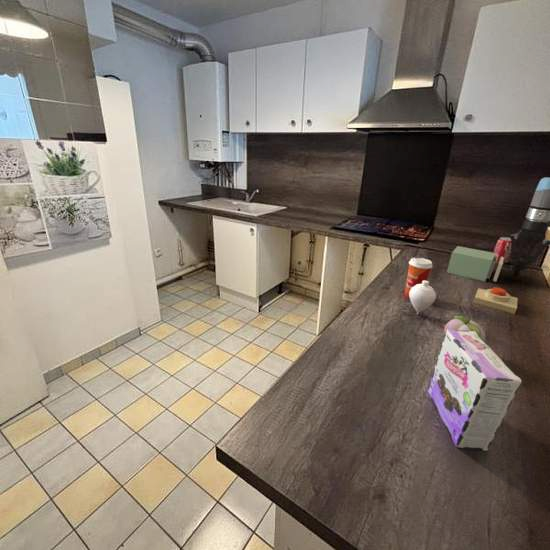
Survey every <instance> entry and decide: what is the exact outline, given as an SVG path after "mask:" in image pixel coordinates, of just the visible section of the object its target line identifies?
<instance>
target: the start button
mask: <svg viewBox="0 0 550 550" xmlns="http://www.w3.org/2000/svg"><path fill="white" fill-rule="evenodd" d="M491 289H492V291H491V293H493V294H495V295H498V296H505V294H506V293H507V290H505V289H504V288H501V287H497V286H496V287H495V286H494V287H492V288H491Z"/></svg>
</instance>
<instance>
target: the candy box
mask: <svg viewBox="0 0 550 550" xmlns="http://www.w3.org/2000/svg"><path fill="white" fill-rule="evenodd" d="M521 384H522V379H521V378H520V377H519V376H517V375H516V374H515V373H514V371H512V370H511V369H510V367H508V365H507V364H506V363H505V362H504V361H503V360H502V359H501V358H500V357H499V356H498V355H497V354H496V352H494V350H493V349H492V348H491V347H490V346H489V345H488V344H487V343H486V342H485V341H483V340H482V339H481V338H480V337H479V336H478V334H477V333H476V332H475V331H462V330H446V333H445V332H444V337H443V340H442V344H441V347H440V349H439V353H438V357H437V359H436V363H435V366H434V368H433V371H432V375H431V378H430V382H429V384H428V388H427V393H428V395H429V397H430V399H431V401H432V403H433V406H434V407H435V409H436V410H437V413H438V415H439V416H440V418H441V420H442V422H443V424H444V426H445V428H446V430H447V432H448V434H449V436H450V437H451V440H452V442H453V443H454V445H455V448H461V449H466V450H467V449H468V450H475V451H481V452H482V451H483V452H488V451H489V448H490V446H491V444H492V442H493V441H494V438H495V435H496V434H497V432H498V430H499V428H500V426H501V424H502V422H503V420H504V418H505V416H506V414H507V412H508V410H509V408H510V406H511V404H512V402H513V400H514V398H515V396H516V394H517V392H518V390H519V388H520V386H521Z"/></svg>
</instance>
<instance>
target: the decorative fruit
mask: <svg viewBox="0 0 550 550" xmlns="http://www.w3.org/2000/svg"><path fill="white" fill-rule="evenodd" d="M446 330H462V331H475V332H476V333H477V334H478V336H479V337H480V338H481V339H482V340H483V341H484V342H485V341H486V333H485V330H484V329H483V328H482V326H481V325H480V324H478V323H477V322H475V321H474V320H471V318H470V317H469V318H467V317H464V316H463V315H462V316H461V315H455V316H453V319H451V320H449V321H448V322H447V323H446V324H445V325H444V329H443V331H444V334H445V333H446Z"/></svg>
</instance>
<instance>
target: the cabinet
mask: <svg viewBox="0 0 550 550" xmlns="http://www.w3.org/2000/svg"><path fill="white" fill-rule="evenodd" d="M494 255H495V253H493V252H492V251H486V250H480V249H475V248H470V247H464V246H459V245H458V246H456V247H455V248H454V250H453V251H452V252H451V256H450V259H449V263H448V266H447V270H446V273H447V274H451V275H455V276H459V277H464V278H468V279H472V280H476V281H481V282H484V283H485V282H486V281H487V279H488V278H487V275H488V272H489V269H490V267H491V264H492V261H493V258H494Z"/></svg>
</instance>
